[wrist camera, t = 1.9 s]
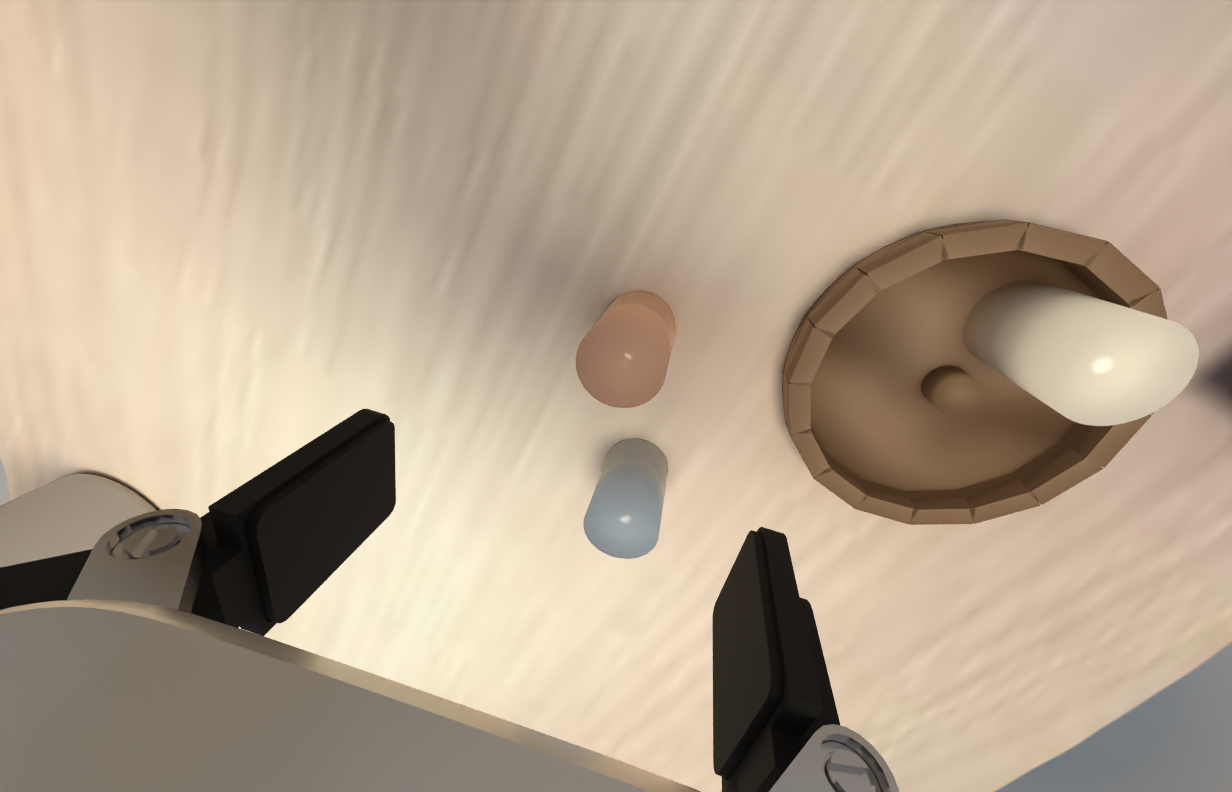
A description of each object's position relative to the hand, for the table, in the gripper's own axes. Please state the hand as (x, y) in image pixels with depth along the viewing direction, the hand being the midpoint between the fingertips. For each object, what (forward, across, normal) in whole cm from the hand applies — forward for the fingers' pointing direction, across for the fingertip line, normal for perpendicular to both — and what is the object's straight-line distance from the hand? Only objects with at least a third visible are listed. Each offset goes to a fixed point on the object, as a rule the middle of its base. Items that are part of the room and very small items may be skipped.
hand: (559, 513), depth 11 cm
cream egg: (+14, -16, -6) cm, 23 cm away
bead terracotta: (+15, 0, 0) cm, 15 cm away
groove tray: (+15, -15, -2) cm, 22 cm away
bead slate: (+15, -2, +9) cm, 18 cm away
